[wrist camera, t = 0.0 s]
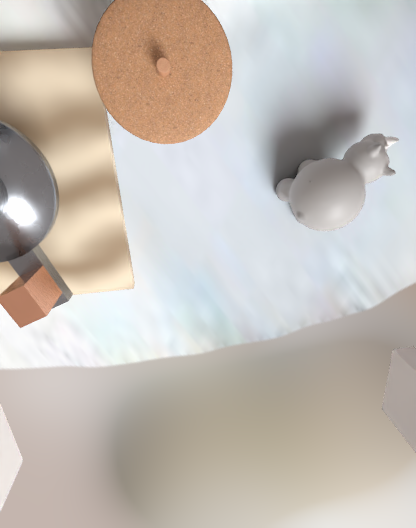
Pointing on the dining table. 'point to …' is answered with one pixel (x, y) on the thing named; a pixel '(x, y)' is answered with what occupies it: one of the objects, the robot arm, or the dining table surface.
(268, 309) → the dining table surface
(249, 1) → the dining table surface
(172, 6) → the lidded jar
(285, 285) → the dining table surface
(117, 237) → the flange base
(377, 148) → the round bodied animal figurine
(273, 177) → the dining table surface
